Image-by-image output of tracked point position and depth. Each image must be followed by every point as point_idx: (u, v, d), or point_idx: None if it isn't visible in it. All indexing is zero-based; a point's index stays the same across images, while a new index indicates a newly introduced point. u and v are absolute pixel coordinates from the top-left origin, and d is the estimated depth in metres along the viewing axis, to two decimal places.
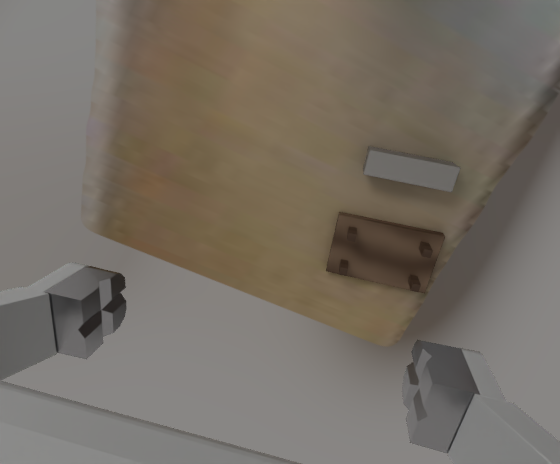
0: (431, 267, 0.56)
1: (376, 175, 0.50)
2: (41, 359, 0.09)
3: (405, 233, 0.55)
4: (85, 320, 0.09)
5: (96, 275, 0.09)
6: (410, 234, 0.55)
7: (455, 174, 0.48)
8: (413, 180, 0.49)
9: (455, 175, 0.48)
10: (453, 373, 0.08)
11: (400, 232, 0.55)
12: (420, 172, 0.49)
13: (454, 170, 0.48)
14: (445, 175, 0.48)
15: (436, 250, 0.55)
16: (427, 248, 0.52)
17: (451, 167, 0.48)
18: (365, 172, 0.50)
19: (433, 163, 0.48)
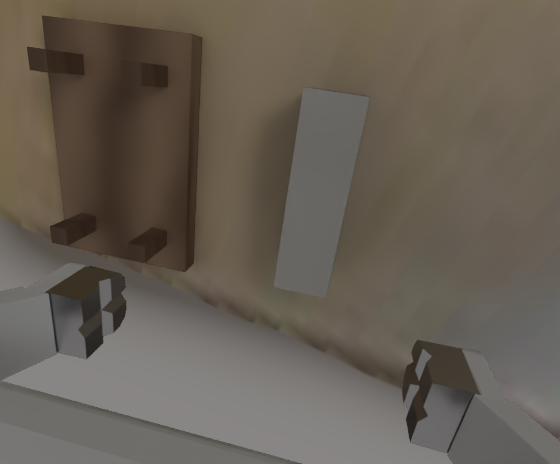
0: (120, 253, 0.28)
1: (301, 122, 0.19)
2: (41, 359, 0.09)
3: (176, 199, 0.25)
4: (85, 320, 0.09)
5: (96, 275, 0.09)
6: (176, 209, 0.26)
7: (311, 291, 0.23)
8: (293, 211, 0.21)
9: (309, 291, 0.23)
10: (453, 373, 0.08)
11: (176, 189, 0.25)
12: (314, 225, 0.21)
13: (319, 289, 0.22)
14: (308, 273, 0.22)
15: (155, 259, 0.27)
16: (147, 250, 0.24)
17: (325, 283, 0.22)
18: (308, 91, 0.19)
19: (334, 249, 0.21)
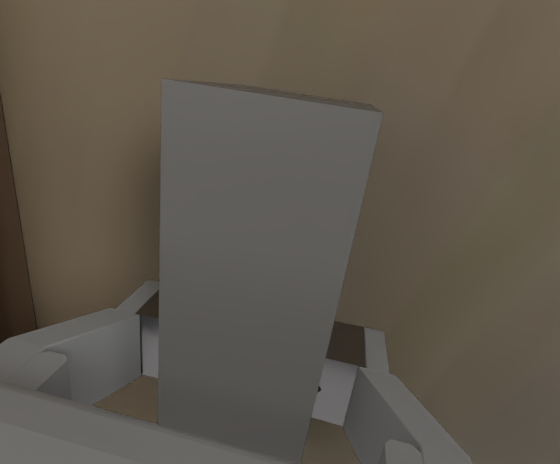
0: None
1: (171, 187, 0.06)
2: (128, 382, 0.09)
3: None
4: None
5: None
6: None
7: None
8: (179, 404, 0.08)
9: None
10: (346, 349, 0.08)
11: None
12: (233, 440, 0.08)
13: None
14: None
15: None
16: None
17: None
18: (180, 94, 0.06)
19: None
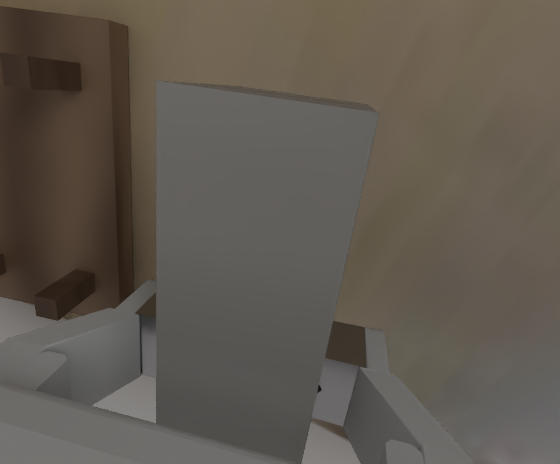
0: None
1: (167, 190, 0.06)
2: (127, 382, 0.09)
3: (103, 235, 0.20)
4: None
5: None
6: (104, 247, 0.20)
7: None
8: (177, 408, 0.08)
9: None
10: (346, 349, 0.08)
11: (102, 222, 0.19)
12: (233, 444, 0.08)
13: None
14: None
15: (82, 308, 0.22)
16: (61, 304, 0.18)
17: None
18: (174, 96, 0.06)
19: None
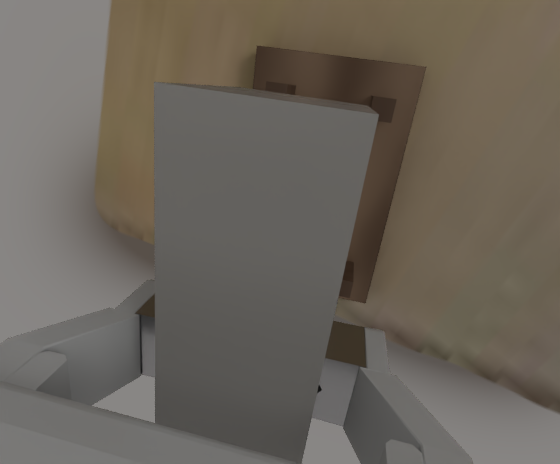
0: None
1: (165, 192, 0.06)
2: (127, 382, 0.09)
3: (371, 231, 0.25)
4: None
5: None
6: (369, 241, 0.25)
7: None
8: (177, 410, 0.08)
9: None
10: (346, 349, 0.08)
11: (374, 221, 0.24)
12: None
13: None
14: None
15: None
16: (352, 285, 0.23)
17: None
18: (172, 97, 0.06)
19: None
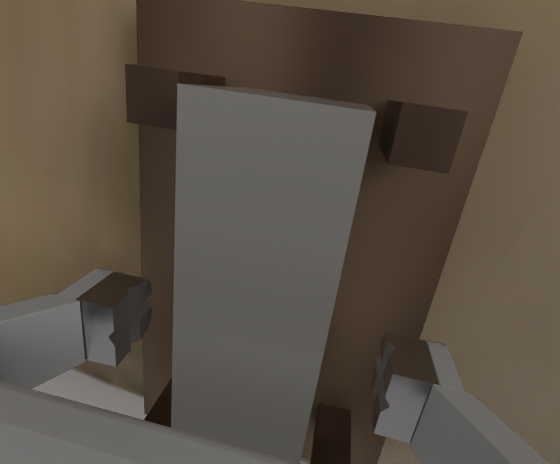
0: None
1: (185, 181, 0.07)
2: (70, 367, 0.09)
3: None
4: (115, 327, 0.09)
5: (124, 281, 0.09)
6: None
7: None
8: (192, 384, 0.09)
9: None
10: (415, 364, 0.08)
11: None
12: (242, 417, 0.09)
13: None
14: None
15: None
16: None
17: None
18: (193, 97, 0.06)
19: None
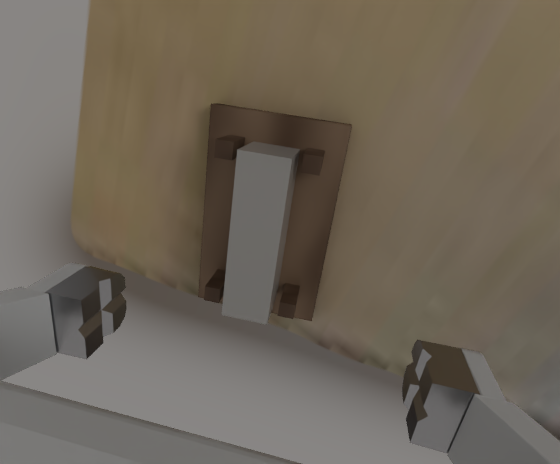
0: None
1: (237, 177, 0.22)
2: (41, 359, 0.09)
3: (314, 259, 0.28)
4: (85, 320, 0.09)
5: (96, 275, 0.09)
6: (312, 268, 0.29)
7: (254, 318, 0.26)
8: (235, 250, 0.24)
9: (252, 318, 0.26)
10: (453, 374, 0.08)
11: (315, 251, 0.28)
12: (253, 262, 0.24)
13: (261, 316, 0.26)
14: (250, 302, 0.26)
15: None
16: (295, 307, 0.27)
17: (266, 311, 0.26)
18: (241, 153, 0.22)
19: (271, 282, 0.25)
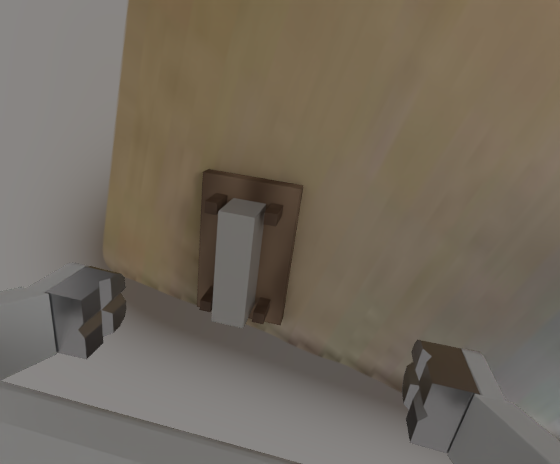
0: None
1: (219, 228, 0.33)
2: (41, 359, 0.09)
3: (279, 280, 0.39)
4: (85, 320, 0.09)
5: (96, 275, 0.10)
6: (279, 286, 0.39)
7: (234, 323, 0.36)
8: (219, 276, 0.35)
9: (232, 323, 0.36)
10: (453, 373, 0.08)
11: (280, 274, 0.38)
12: (232, 285, 0.35)
13: (238, 322, 0.36)
14: (231, 312, 0.36)
15: None
16: (264, 316, 0.38)
17: (242, 319, 0.36)
18: (221, 213, 0.32)
19: (245, 299, 0.35)
